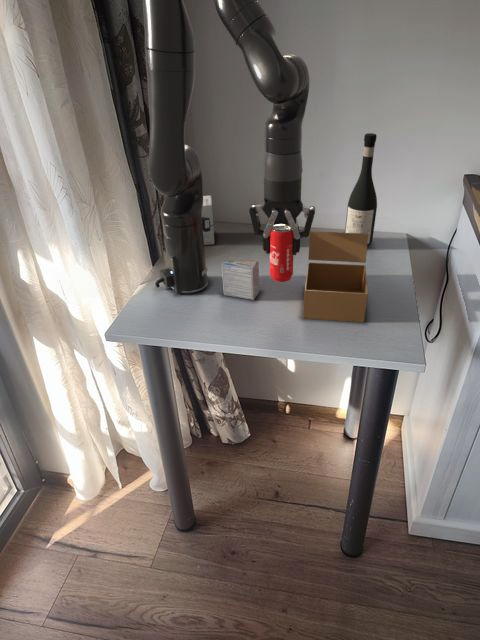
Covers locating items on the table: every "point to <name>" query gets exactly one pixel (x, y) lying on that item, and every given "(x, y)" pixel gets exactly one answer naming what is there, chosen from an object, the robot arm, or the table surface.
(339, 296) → the carton
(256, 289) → the medicine box
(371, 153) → the wine bottle
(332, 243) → the flap
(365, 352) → the table surface
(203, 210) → the ink box
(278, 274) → the beverage can
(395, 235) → the table surface
